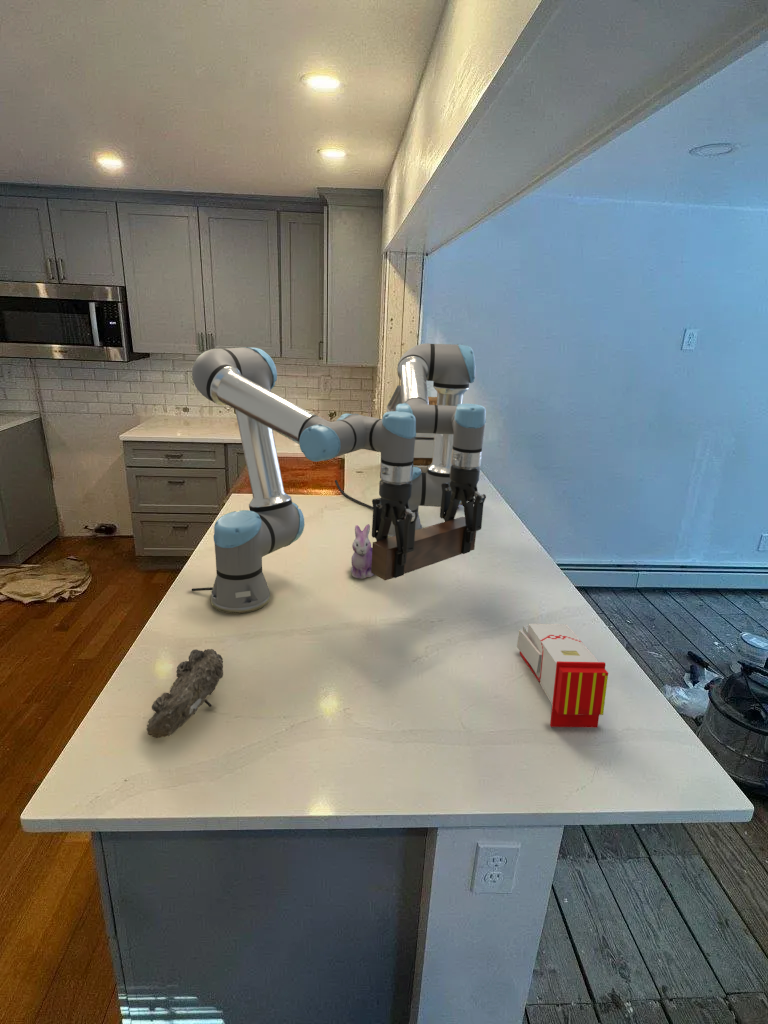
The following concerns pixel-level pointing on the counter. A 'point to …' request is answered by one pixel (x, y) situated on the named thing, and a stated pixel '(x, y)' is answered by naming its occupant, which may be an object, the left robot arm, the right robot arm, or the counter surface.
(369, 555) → the figurine
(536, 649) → the toy
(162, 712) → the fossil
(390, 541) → the plank
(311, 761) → the counter surface
